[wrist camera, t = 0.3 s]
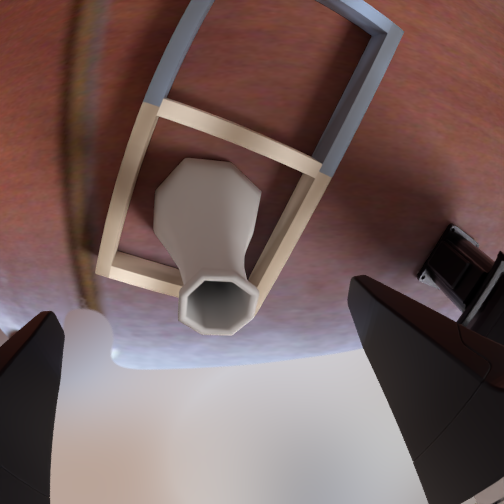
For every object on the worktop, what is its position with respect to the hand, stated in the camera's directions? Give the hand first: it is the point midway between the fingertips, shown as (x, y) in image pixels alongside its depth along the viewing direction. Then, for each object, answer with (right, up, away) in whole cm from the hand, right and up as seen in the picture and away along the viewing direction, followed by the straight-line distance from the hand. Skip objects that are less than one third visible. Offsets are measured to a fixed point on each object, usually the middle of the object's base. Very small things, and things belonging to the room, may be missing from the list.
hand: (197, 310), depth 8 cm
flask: (-2, +5, +12) cm, 13 cm away
